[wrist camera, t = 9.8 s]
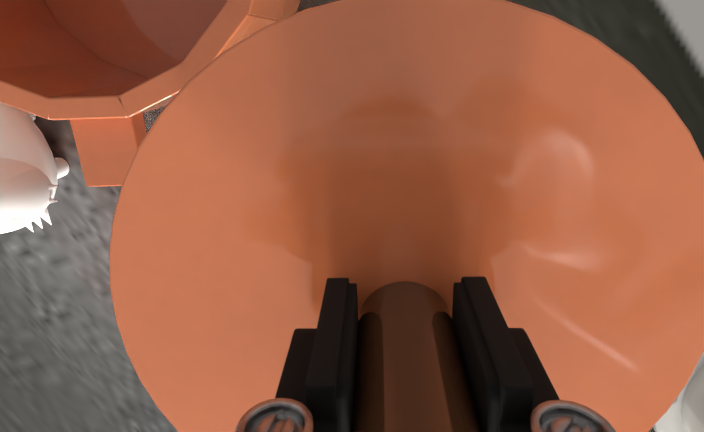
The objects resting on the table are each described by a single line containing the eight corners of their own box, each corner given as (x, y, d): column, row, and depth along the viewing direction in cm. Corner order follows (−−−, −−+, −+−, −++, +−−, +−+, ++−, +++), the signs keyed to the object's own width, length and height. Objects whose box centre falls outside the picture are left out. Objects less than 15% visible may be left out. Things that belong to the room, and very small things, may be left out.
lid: (766, -22, 10) (1307, -106, 4) (635, 498, 16) (790, 771, 10) (68, 10, 11) (-278, -21, 5) (181, 489, 16) (75, 734, 11)
